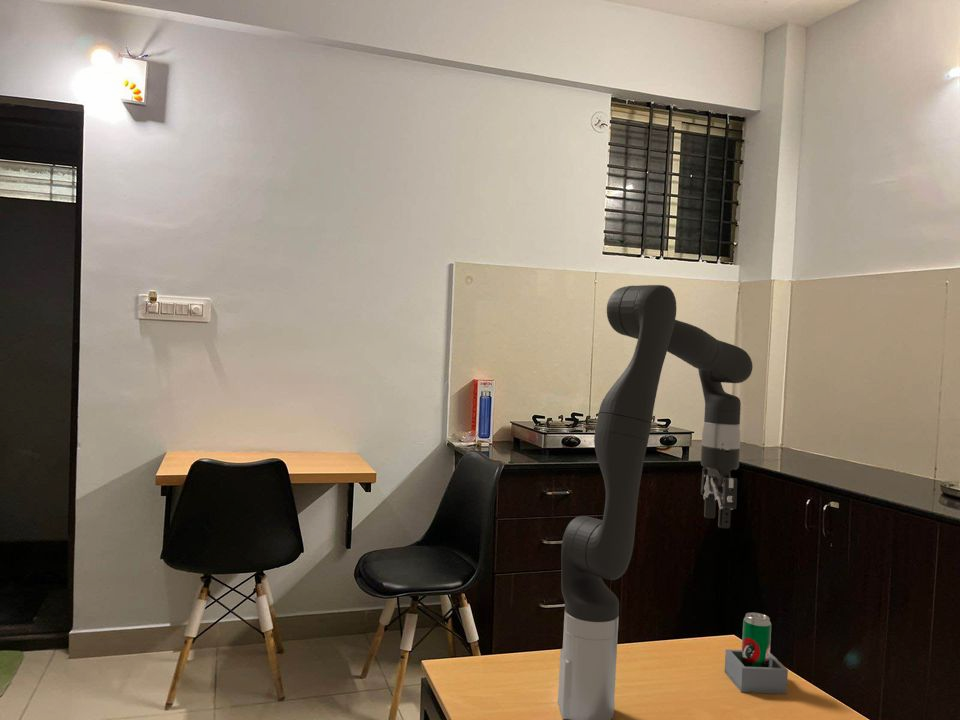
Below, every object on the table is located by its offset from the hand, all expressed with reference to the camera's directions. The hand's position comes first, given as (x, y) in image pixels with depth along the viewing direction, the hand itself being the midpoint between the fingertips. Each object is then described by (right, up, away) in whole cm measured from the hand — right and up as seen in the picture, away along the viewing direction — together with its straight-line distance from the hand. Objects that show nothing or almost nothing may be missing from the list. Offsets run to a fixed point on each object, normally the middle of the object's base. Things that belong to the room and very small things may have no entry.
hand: (716, 522), depth 150 cm
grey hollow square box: (+4, -28, -11) cm, 31 cm away
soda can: (+4, -28, -11) cm, 30 cm away
